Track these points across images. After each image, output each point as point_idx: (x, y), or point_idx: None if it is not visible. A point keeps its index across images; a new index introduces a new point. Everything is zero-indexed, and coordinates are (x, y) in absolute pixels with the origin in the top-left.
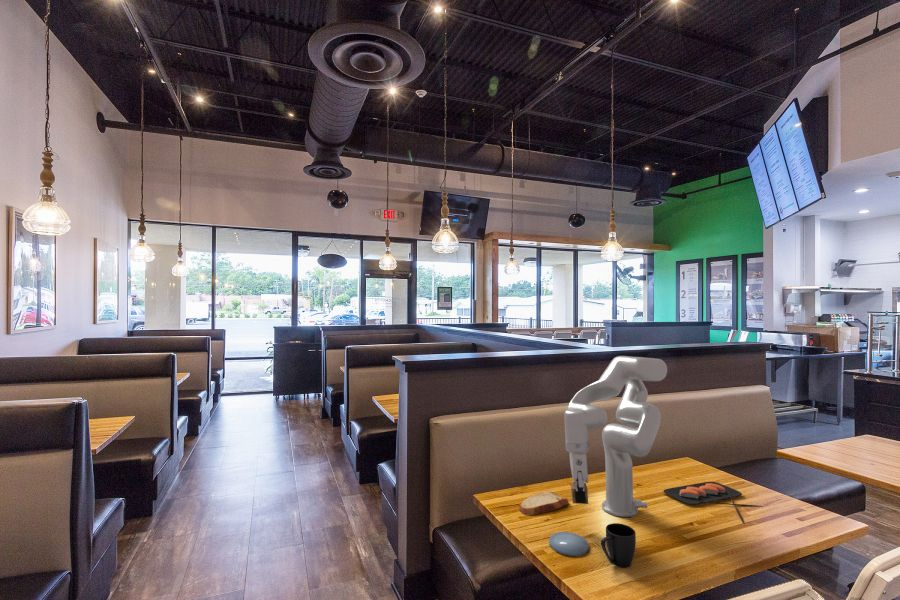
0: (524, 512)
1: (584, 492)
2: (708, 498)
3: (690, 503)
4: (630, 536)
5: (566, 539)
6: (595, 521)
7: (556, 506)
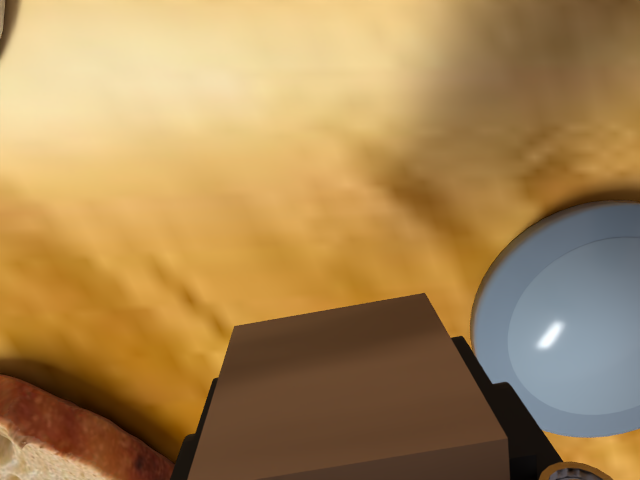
0: None
1: (524, 443)
2: None
3: None
4: None
5: (582, 345)
6: (183, 168)
7: (118, 442)
